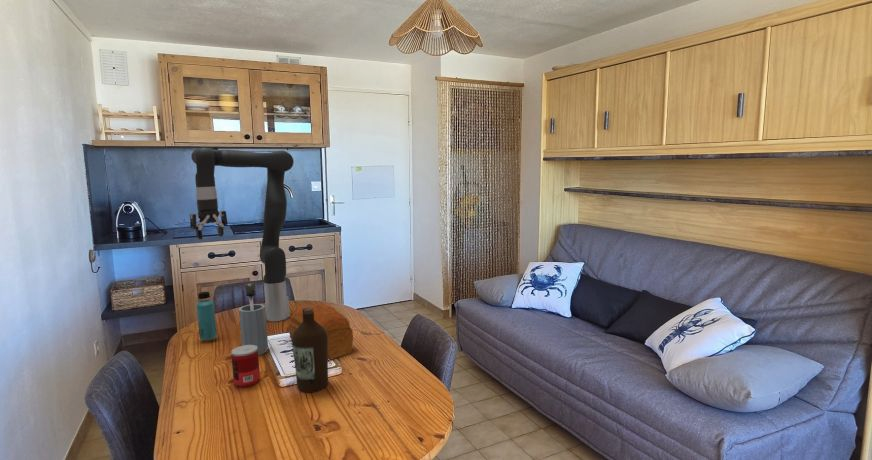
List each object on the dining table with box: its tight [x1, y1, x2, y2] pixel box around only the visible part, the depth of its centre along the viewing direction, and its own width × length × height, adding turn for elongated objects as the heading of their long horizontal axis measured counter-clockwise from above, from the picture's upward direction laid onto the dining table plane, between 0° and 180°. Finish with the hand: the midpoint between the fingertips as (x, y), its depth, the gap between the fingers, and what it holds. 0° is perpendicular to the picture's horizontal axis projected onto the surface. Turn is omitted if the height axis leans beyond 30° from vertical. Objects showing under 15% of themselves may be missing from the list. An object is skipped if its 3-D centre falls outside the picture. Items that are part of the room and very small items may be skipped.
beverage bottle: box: [195, 291, 218, 341], centre depth 188 cm, size 6×7×20 cm
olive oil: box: [291, 307, 329, 393], centre depth 147 cm, size 11×11×25 cm
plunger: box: [244, 282, 257, 311], centre depth 175 cm, size 6×6×24 cm
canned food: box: [230, 345, 261, 388], centre depth 152 cm, size 8×8×11 cm
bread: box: [288, 303, 354, 360], centre depth 179 cm, size 16×27×16 cm, turn 39°
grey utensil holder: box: [238, 303, 269, 357], centre depth 177 cm, size 10×10×17 cm
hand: (210, 237), depth 193 cm, fingers open, 8 cm apart
